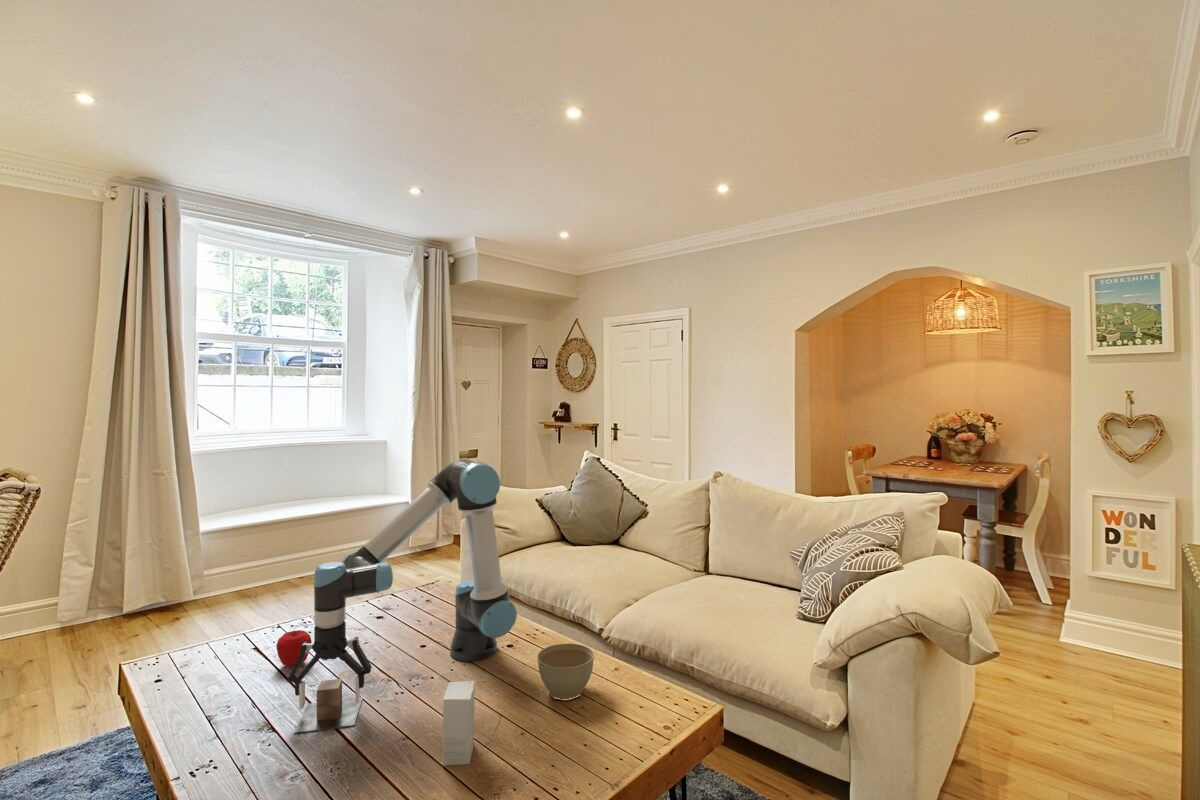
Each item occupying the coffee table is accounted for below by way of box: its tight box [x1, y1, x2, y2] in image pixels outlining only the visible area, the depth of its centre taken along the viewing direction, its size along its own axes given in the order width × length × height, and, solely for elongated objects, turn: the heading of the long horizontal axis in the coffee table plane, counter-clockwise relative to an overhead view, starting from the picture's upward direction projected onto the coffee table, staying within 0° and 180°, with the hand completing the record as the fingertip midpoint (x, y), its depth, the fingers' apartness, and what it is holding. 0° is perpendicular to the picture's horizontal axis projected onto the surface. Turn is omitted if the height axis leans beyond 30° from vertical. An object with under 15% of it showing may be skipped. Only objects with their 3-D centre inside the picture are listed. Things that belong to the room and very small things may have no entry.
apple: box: [275, 629, 313, 668], centre depth 181 cm, size 10×10×11 cm
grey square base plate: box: [293, 696, 363, 735], centre depth 152 cm, size 14×14×6 cm
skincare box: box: [442, 680, 476, 767], centre depth 135 cm, size 8×7×16 cm
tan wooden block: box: [316, 678, 343, 721], centre depth 152 cm, size 5×5×8 cm
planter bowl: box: [537, 642, 595, 699], centre depth 164 cm, size 16×16×11 cm
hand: (330, 703), depth 152 cm, fingers open, 13 cm apart
